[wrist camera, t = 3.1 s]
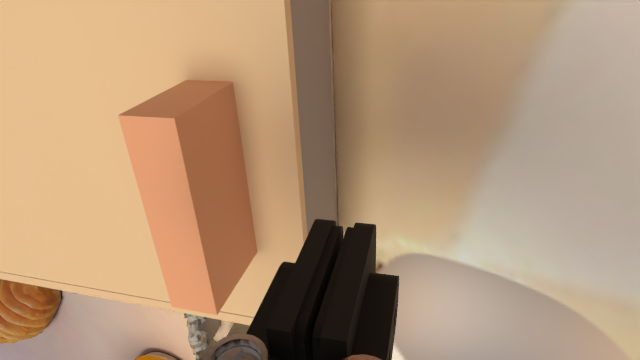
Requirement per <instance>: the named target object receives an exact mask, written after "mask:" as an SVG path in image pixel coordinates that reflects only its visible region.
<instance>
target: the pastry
mask: <svg viewBox="0 0 640 360" xmlns="http://www.w3.org/2000/svg"><path fill="white" fill-rule="evenodd" d="M60 302H61V291H60V290H57V289H51V288H46V287H41V286H35V285H30V284H24V283H19V282H14V281H8V280H3V279H0V344H3V343H15V342H17V341H19V340H24V339H27V338H32V337H35V336H37V335H38V334H40V333H42V332H43V330H44V329H45V328H47V326H48V325H49V323H50V322H51V320H52V318H53V317H54V315H55V313H56V311H57V308H58V306H59V304H60Z"/></svg>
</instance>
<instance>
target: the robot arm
mask: <svg viewBox="0 0 640 360" xmlns="http://www.w3.org/2000/svg"><path fill="white" fill-rule="evenodd" d="M375 271H376V225H374V224H364V223H355V225H354V228H351V227H348V228H347V230H346V233H345V236H344V239H343V228H342V226H336V221H334V220H324V219H315V221H314V223H313V225H312V227H311V229H310V231H309V234H308V236H307V238H306V240H305V242H304V245H303V247H302V249H301V251H300V253H299V256H298V258H297V260H296V262H295V263H291V262H283V263H281V265H280V266H279V268H278V270H277V272H276V274H275V276H274V278H273V280H272V282H271V284H270V286H269V288H268V290H267V292H266V294H265V296H264V298H263V300H262V303H261V305H260V307H259V309H258V311H257V313H256V315H255V317H254V319H253V321H252V323H251V325H250V327H249V329H248V331H247V333H246V334H233V335H230V336H227V337H224V338H222V339H221V340H219V341H218V342H216V343H215V344H214V345H213V346H212V347H211V348H210V349H209V350H208V351H207V352H206V354H205V355H204V356H203V358H202V359H201V360H391V359H392V351H393V343H394V335H395V327H396V318H397V306H398V290H399V276H394V275H386V274H378V273H375Z"/></svg>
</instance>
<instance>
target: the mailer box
mask: <svg viewBox="0 0 640 360" xmlns="http://www.w3.org/2000/svg"><path fill="white" fill-rule="evenodd" d="M290 7H291V20H292V34H293V47H294V61H295V74H296V88H297V101H298V115H299V128H300V142H301V155H302V169H303V182H304V196H305V209H306V223H307V236H308V234H309V231H310V229H311V227H312V225H313V223H314V221H315V219H324V220H334V221H336V226H338V197H337V166H336V135H335V104H334V73H333V42H332V12H331V0H290Z"/></svg>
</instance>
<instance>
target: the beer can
mask: <svg viewBox="0 0 640 360" xmlns="http://www.w3.org/2000/svg"><path fill="white" fill-rule="evenodd" d="M135 360H177V359H175V358H174V357H172V356H170V355H167V354H165V353H161V352H151V353H148V354H147V355H143V356H139V357H138V358H136V359H135Z"/></svg>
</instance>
